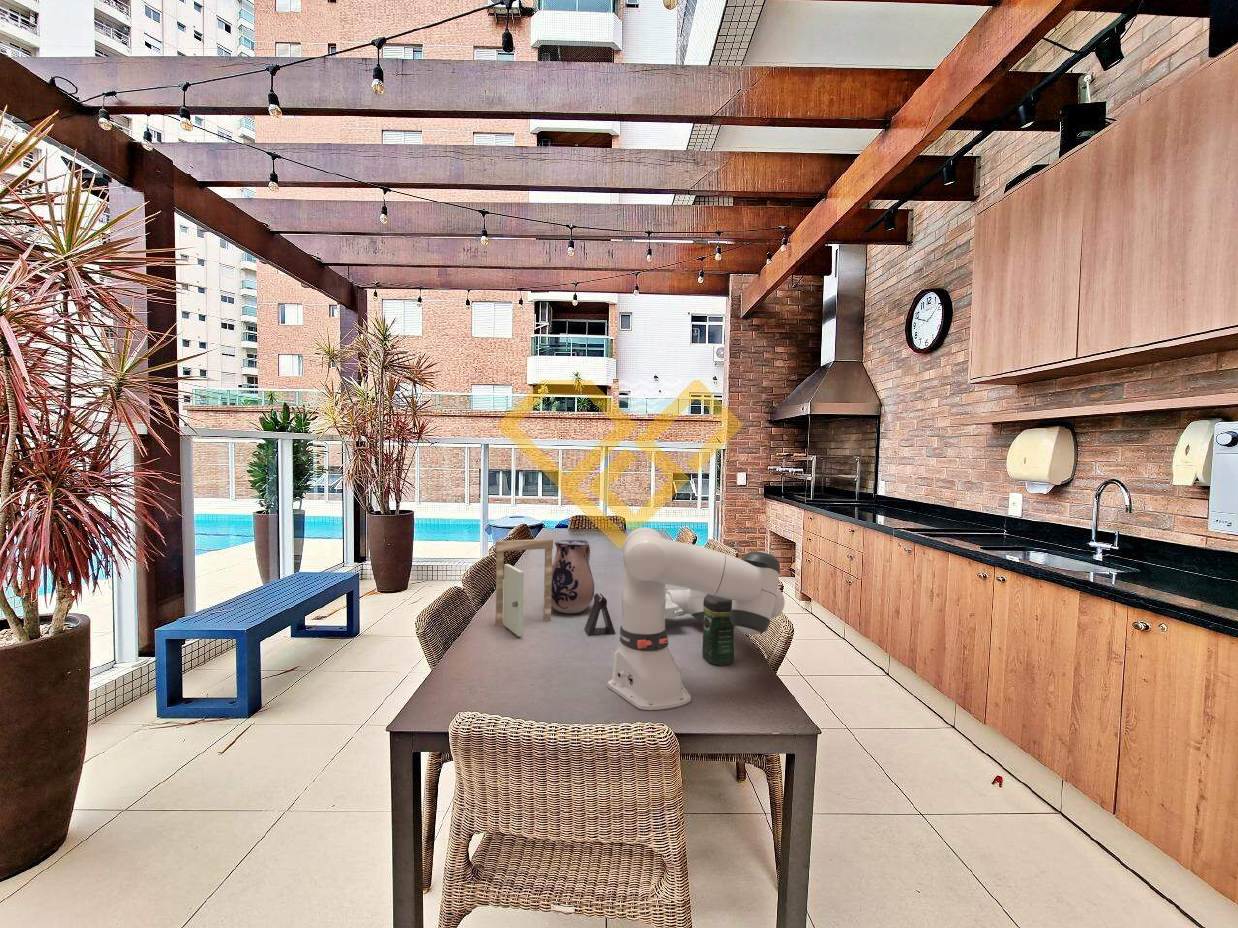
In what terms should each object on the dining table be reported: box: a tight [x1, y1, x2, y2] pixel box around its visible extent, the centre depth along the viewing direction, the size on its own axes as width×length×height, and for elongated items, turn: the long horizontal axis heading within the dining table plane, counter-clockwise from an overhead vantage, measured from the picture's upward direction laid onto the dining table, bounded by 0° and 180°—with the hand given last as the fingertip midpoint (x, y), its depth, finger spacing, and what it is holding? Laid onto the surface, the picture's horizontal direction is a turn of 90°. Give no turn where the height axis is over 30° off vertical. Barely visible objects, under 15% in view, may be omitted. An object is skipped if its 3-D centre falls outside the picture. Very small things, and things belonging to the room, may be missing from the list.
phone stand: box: [584, 592, 616, 637], centre depth 181 cm, size 9×6×12 cm, turn 105°
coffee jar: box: [701, 594, 735, 666], centre depth 160 cm, size 10×8×19 cm
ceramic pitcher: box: [551, 539, 595, 615], centre depth 206 cm, size 18×21×25 cm
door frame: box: [495, 538, 554, 627], centre depth 189 cm, size 2×19×28 cm, turn 112°
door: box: [503, 563, 525, 637], centre depth 179 cm, size 3×13×20 cm, turn 32°
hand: (634, 606), depth 186 cm, fingers open, 8 cm apart
